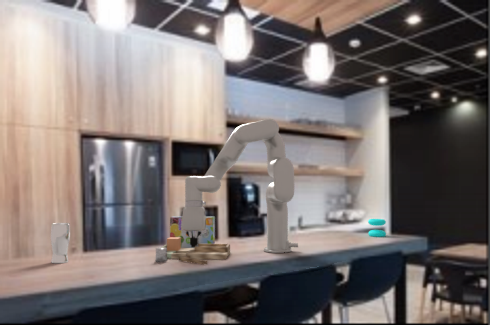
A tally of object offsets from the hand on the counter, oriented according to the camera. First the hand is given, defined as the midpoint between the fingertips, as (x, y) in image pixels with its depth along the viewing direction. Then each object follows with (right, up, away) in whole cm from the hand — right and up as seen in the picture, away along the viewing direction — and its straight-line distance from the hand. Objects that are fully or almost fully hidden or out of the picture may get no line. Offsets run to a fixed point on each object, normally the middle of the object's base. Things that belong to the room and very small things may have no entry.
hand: (193, 246), depth 182 cm
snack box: (-3, -5, +20) cm, 21 cm away
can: (-11, -3, -16) cm, 20 cm away
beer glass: (-50, -3, -19) cm, 54 cm away
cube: (-9, -1, 0) cm, 9 cm away
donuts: (+100, -7, +65) cm, 120 cm away
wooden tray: (+1, -3, -3) cm, 5 cm away
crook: (+3, -3, -17) cm, 18 cm away
